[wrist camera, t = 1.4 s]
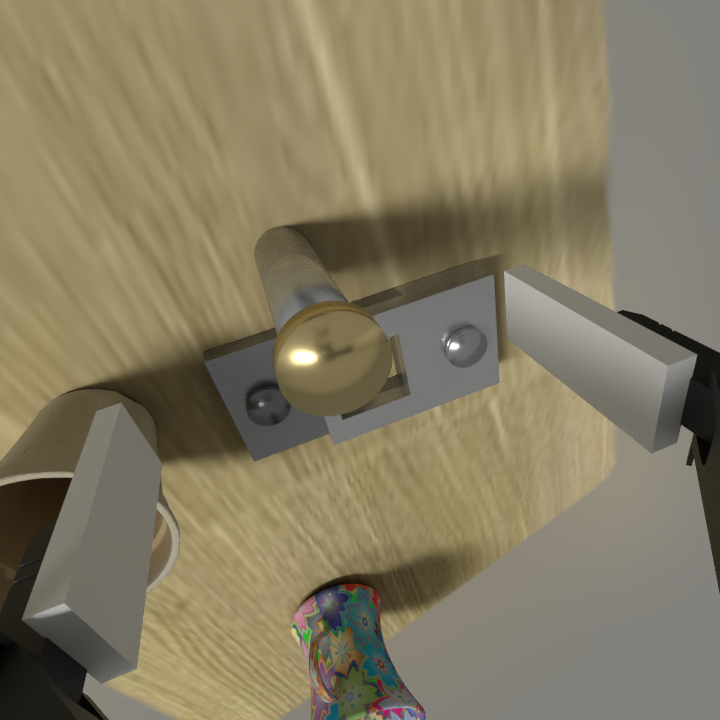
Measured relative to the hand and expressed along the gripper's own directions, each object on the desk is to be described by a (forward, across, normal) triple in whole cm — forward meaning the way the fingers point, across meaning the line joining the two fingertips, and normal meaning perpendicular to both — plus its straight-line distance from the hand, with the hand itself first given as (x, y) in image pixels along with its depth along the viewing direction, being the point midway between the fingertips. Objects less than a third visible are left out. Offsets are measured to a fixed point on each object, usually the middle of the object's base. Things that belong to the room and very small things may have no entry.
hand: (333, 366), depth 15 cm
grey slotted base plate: (+11, +2, -8) cm, 14 cm away
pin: (+11, 0, 0) cm, 11 cm away
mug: (+12, -6, -32) cm, 34 cm away
